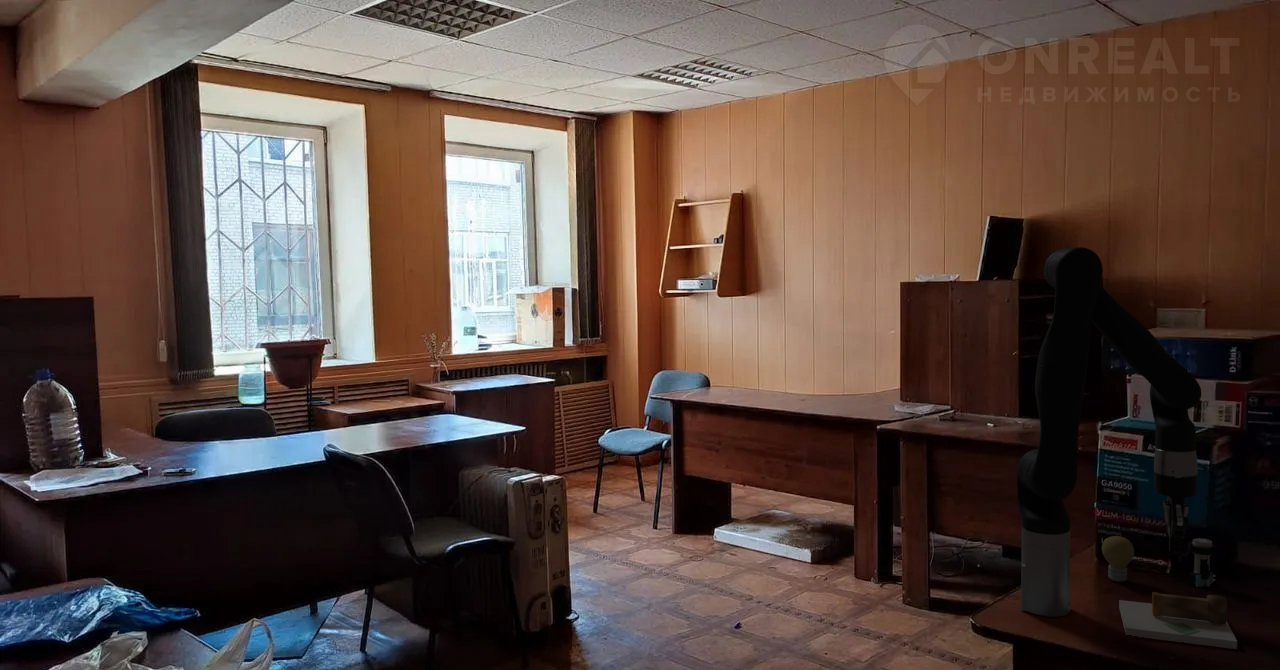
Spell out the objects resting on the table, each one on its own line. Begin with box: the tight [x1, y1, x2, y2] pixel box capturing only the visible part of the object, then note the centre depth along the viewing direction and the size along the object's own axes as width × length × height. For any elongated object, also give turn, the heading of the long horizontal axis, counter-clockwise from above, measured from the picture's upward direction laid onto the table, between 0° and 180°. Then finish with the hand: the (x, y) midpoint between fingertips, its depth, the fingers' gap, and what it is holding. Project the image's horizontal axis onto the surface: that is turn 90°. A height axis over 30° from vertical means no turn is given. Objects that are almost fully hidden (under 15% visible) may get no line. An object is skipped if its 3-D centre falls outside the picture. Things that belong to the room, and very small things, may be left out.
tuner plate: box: [1118, 599, 1238, 650], centre depth 172 cm, size 18×15×2 cm
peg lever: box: [1151, 591, 1228, 624], centre depth 171 cm, size 12×3×5 cm, turn 66°
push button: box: [1187, 537, 1218, 588], centre depth 193 cm, size 7×5×10 cm
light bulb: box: [1101, 535, 1135, 583], centre depth 197 cm, size 6×6×10 cm
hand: (1175, 554), depth 178 cm, fingers closed
